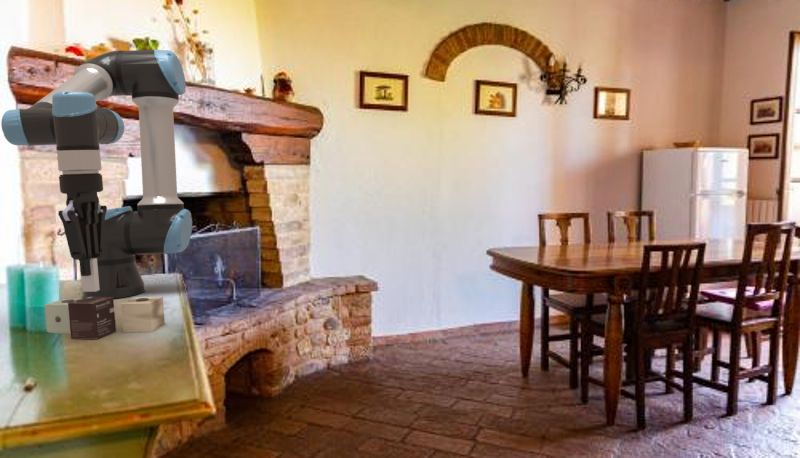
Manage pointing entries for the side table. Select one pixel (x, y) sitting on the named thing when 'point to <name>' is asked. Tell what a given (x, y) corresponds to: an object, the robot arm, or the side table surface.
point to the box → (91, 317)
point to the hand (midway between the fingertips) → (91, 290)
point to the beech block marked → (142, 314)
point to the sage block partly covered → (58, 316)
